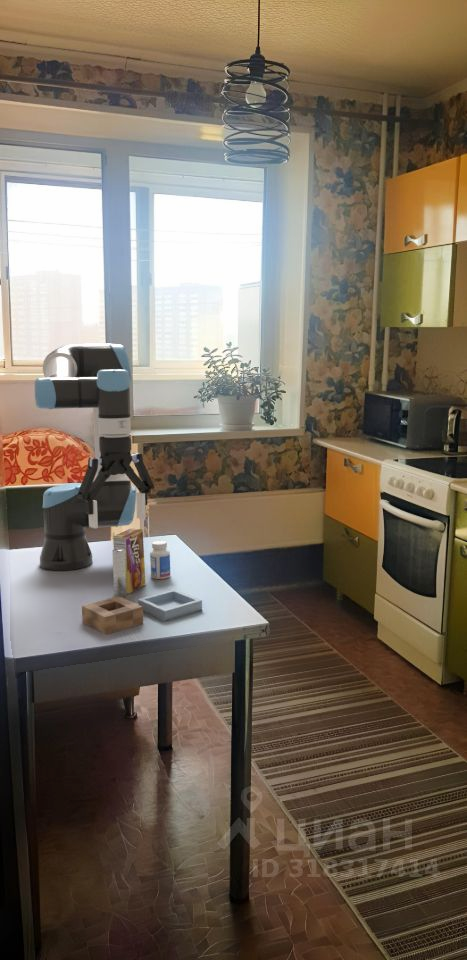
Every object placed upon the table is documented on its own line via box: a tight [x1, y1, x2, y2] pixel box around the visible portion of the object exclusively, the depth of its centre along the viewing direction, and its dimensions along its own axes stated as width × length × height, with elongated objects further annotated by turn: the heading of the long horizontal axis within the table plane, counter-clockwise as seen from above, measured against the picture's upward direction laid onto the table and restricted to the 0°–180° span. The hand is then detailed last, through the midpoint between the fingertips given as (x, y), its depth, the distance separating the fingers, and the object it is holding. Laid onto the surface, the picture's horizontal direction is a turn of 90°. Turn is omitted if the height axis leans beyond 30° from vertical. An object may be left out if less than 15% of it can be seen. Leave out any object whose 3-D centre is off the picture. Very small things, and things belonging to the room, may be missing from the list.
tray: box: [137, 589, 203, 622], centre depth 178 cm, size 11×11×2 cm
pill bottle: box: [149, 540, 171, 580], centre depth 203 cm, size 6×5×10 cm
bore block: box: [81, 596, 144, 635], centre depth 169 cm, size 10×10×4 cm
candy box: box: [112, 528, 146, 595], centre depth 193 cm, size 9×4×15 cm, turn 157°
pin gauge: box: [112, 548, 128, 600], centre depth 180 cm, size 3×3×14 cm
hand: (117, 523), depth 178 cm, fingers open, 13 cm apart
